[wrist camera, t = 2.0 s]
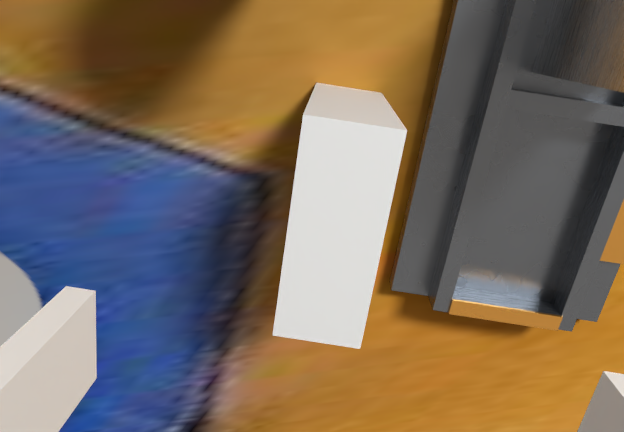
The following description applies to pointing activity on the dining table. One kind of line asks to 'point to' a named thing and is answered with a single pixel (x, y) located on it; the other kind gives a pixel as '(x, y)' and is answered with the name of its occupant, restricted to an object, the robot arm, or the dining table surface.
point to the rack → (521, 165)
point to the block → (338, 214)
